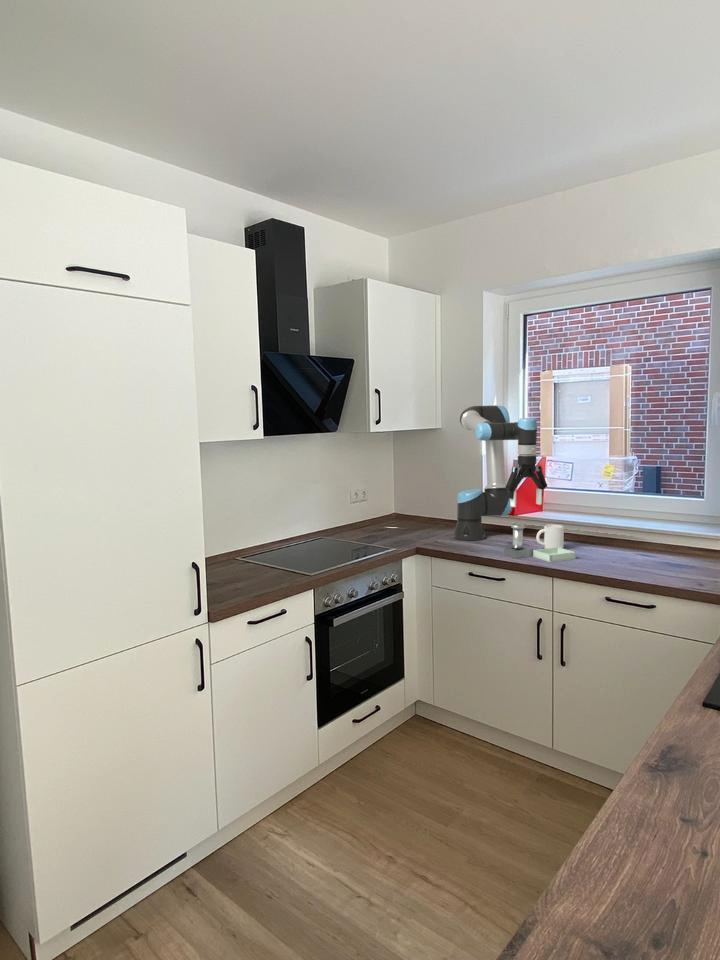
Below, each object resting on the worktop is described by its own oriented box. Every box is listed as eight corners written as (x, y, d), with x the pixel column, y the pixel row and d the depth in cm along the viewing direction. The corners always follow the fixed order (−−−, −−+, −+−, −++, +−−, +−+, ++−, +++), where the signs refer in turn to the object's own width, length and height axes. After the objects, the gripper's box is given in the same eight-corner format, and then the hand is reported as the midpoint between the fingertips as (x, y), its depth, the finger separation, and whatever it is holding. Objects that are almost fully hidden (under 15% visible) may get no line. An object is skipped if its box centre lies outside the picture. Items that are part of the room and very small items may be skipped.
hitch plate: (504, 554, 265) (504, 547, 264) (519, 552, 268) (519, 545, 267) (515, 558, 257) (515, 551, 257) (531, 556, 260) (531, 549, 260)
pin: (508, 554, 264) (508, 524, 263) (518, 553, 266) (519, 523, 265) (516, 557, 259) (516, 526, 257) (527, 556, 261) (527, 525, 259)
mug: (539, 551, 270) (539, 528, 269) (533, 547, 278) (533, 524, 277) (566, 550, 270) (566, 527, 269) (559, 546, 279) (559, 524, 278)
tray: (532, 556, 260) (533, 550, 260) (557, 553, 265) (557, 547, 265) (550, 562, 250) (550, 555, 250) (575, 558, 255) (575, 552, 254)
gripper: (508, 456, 249) (507, 508, 252) (556, 454, 260) (555, 504, 262) (497, 455, 256) (496, 506, 258) (544, 453, 266) (543, 502, 269)
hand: (526, 505), depth 260 cm, fingers open, 13 cm apart
